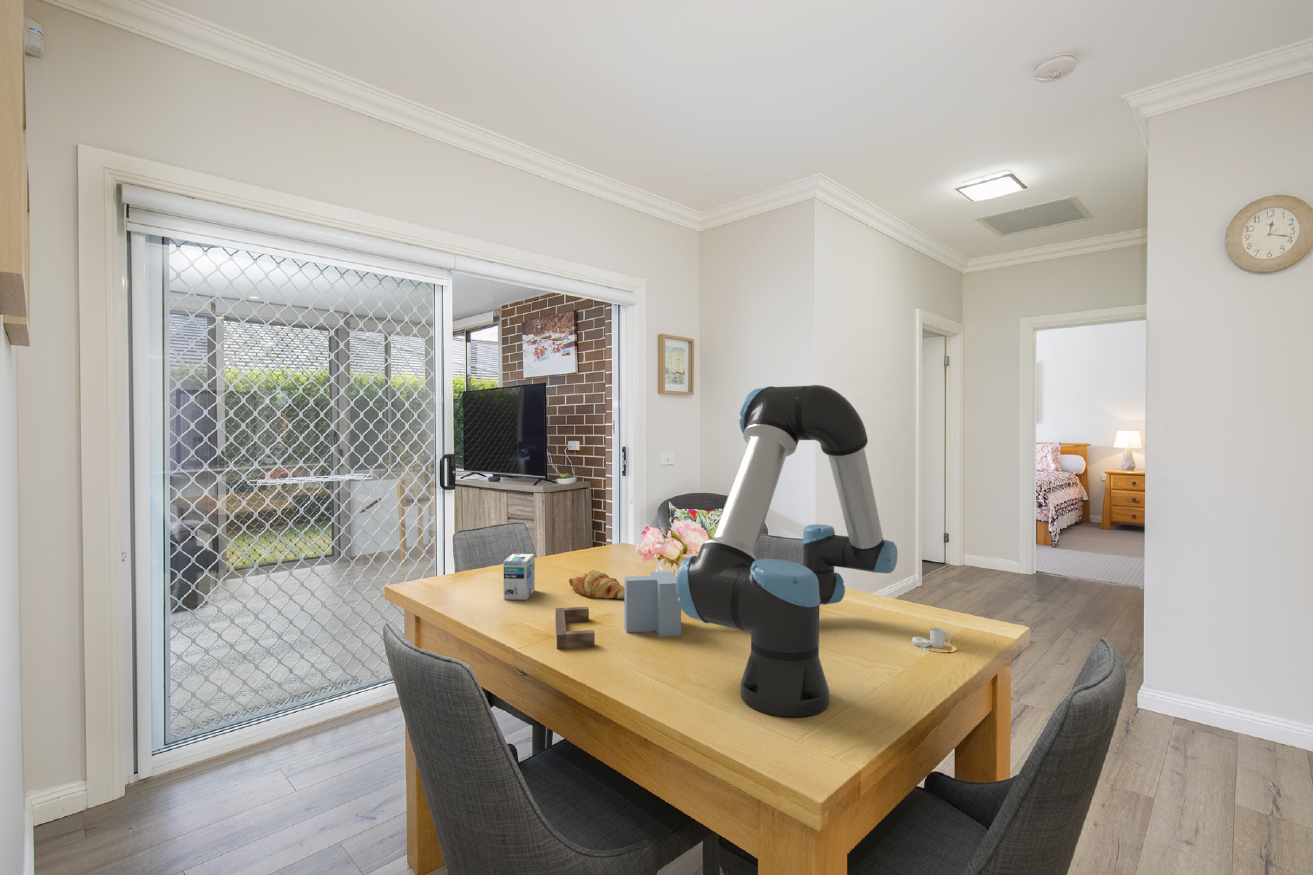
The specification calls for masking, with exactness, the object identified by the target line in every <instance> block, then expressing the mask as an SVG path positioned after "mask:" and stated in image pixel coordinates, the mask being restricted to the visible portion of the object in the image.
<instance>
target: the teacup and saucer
mask: <svg viewBox="0 0 1313 875" xmlns="http://www.w3.org/2000/svg"><path fill="white" fill-rule="evenodd" d="M946 635H950V636H949V640H948V641H946ZM929 638H930V639H927V638H924V637H921V636H914V637H912V638H911V642H912V643H913V644H914V645H916V646H918V647H919V648H921V649H922V648H923V650H925V651H928V650H929V649H930V648H929V647H930V645H931V646H933V647H932V648H934V647H937V648H936V649H942V648H941V647H943V646H944V647H945V646H948V645H947V644H948V643H950V641H951V640H952V634H951V633H950V632H948V631H946V630H945V629H944V628H940V627H930V628H929ZM929 641H931V642H929ZM945 642H947V643H945ZM944 643H945V644H944ZM944 647H943V648H944ZM926 648H927V649H926Z"/></svg>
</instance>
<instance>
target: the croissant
mask: <svg viewBox="0 0 1313 875" xmlns="http://www.w3.org/2000/svg"><path fill="white" fill-rule="evenodd" d="M568 582H569V585H570V586H571V588H572V589H573V590H574V592H576V593H577V594H579V595H582V596H584V597H588V598H594V599H605V600H606V599H611V600H612V599H613V598H614V599H617V600H622V599H624V593H625V586H623V585H621V583H620V582H619V581H618V580H617V579H616V578H614V577H613V578H612V577H610V576H609V575H608V574H606V573H605V572H603V571H599V570H590V571H589V572H588V573H584V574H583V575H581V576H576V577H574V578H569V580H568Z"/></svg>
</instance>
